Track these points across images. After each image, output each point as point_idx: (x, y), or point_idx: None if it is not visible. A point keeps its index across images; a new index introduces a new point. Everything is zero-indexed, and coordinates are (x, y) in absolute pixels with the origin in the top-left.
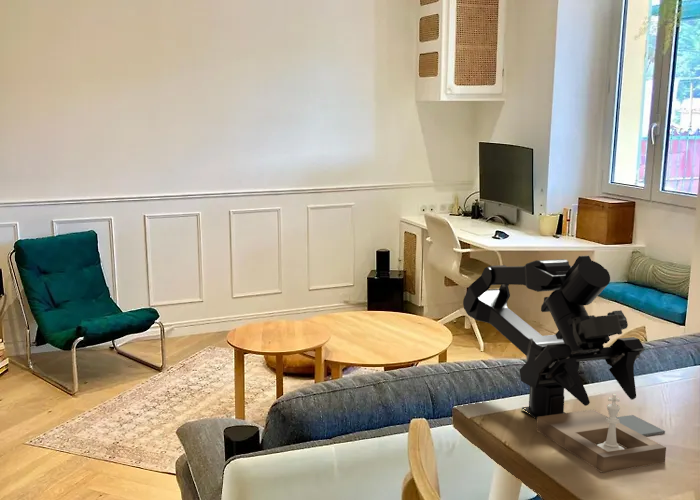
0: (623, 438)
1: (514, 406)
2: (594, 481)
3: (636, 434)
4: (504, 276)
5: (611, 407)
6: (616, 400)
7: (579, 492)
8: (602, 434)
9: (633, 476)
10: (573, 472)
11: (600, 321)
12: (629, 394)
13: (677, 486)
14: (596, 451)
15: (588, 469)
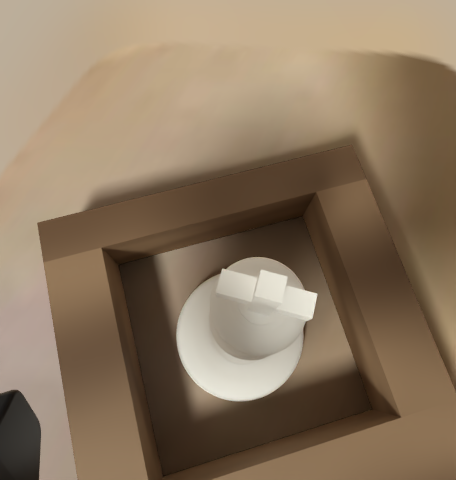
0: (142, 415)
1: None
2: (381, 122)
3: (88, 377)
4: None
5: (290, 270)
6: (249, 278)
7: (446, 65)
8: (230, 465)
9: (238, 147)
10: (434, 183)
11: None
12: (27, 460)
13: (131, 82)
14: (363, 197)
15: None
